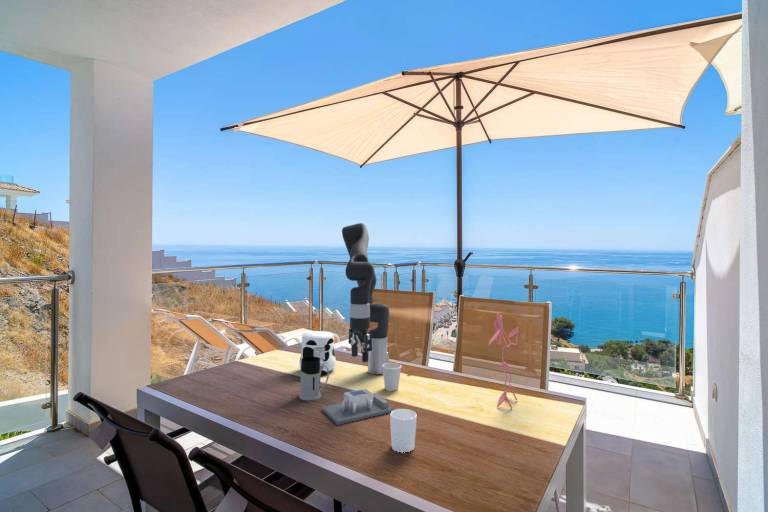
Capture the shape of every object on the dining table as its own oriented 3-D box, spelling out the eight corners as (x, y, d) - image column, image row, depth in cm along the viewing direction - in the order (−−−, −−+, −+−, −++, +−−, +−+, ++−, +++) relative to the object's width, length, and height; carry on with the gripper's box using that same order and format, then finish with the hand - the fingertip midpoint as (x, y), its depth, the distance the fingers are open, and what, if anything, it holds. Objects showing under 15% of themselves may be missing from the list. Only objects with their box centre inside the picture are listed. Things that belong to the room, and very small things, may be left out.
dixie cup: (390, 393, 157) (391, 369, 157) (377, 388, 164) (378, 365, 164) (405, 389, 163) (405, 365, 163) (392, 384, 169) (392, 361, 169)
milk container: (317, 364, 199) (318, 329, 198) (342, 370, 188) (343, 333, 188) (291, 372, 185) (292, 335, 184) (317, 379, 174) (317, 340, 174)
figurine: (524, 394, 158) (523, 309, 158) (509, 417, 135) (508, 318, 136) (487, 388, 165) (486, 307, 166) (467, 409, 143) (466, 315, 144)
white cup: (388, 441, 117) (388, 408, 117) (413, 440, 118) (414, 408, 118) (391, 454, 109) (391, 420, 109) (418, 454, 110) (418, 419, 110)
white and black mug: (310, 390, 160) (311, 354, 160) (335, 398, 152) (336, 360, 152) (294, 397, 153) (294, 359, 153) (320, 405, 145) (320, 365, 145)
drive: (365, 403, 144) (365, 388, 144) (371, 408, 140) (371, 392, 140) (343, 407, 140) (343, 392, 140) (349, 412, 135) (349, 397, 135)
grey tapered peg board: (374, 399, 151) (375, 387, 151) (393, 412, 139) (393, 399, 139) (322, 410, 140) (322, 397, 140) (337, 425, 128) (337, 411, 128)
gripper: (378, 317, 138) (378, 362, 138) (360, 311, 150) (359, 353, 150) (359, 319, 134) (359, 365, 134) (342, 313, 146) (342, 355, 146)
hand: (359, 359), depth 142 cm, fingers open, 8 cm apart
